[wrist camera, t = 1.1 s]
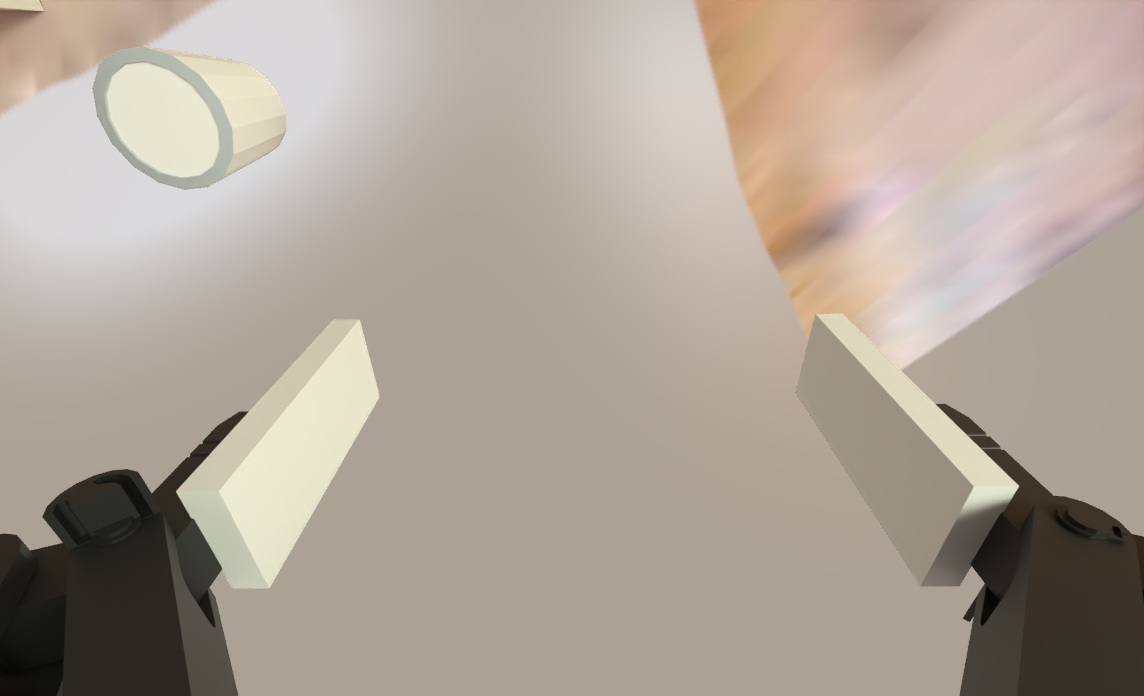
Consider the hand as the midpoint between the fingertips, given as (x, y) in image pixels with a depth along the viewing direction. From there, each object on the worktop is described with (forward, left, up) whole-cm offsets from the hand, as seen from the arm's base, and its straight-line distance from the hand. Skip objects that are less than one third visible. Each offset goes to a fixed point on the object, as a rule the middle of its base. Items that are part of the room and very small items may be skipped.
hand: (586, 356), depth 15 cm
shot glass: (-4, -22, -23) cm, 32 cm away
